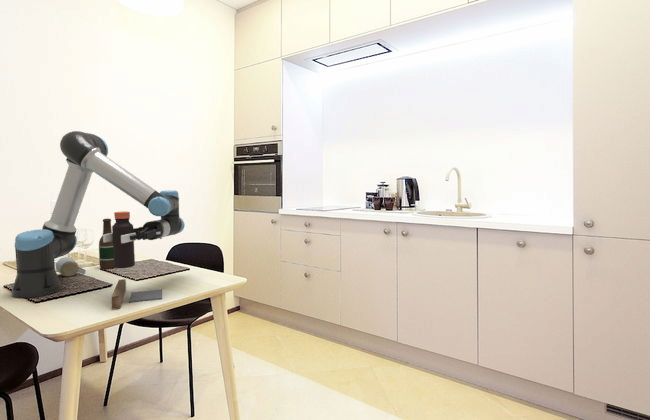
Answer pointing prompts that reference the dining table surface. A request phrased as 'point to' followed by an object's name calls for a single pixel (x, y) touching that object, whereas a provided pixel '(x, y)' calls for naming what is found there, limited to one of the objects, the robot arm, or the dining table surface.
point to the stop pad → (145, 295)
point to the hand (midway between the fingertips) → (113, 239)
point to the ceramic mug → (68, 267)
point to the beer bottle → (106, 248)
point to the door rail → (118, 294)
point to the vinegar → (122, 251)
